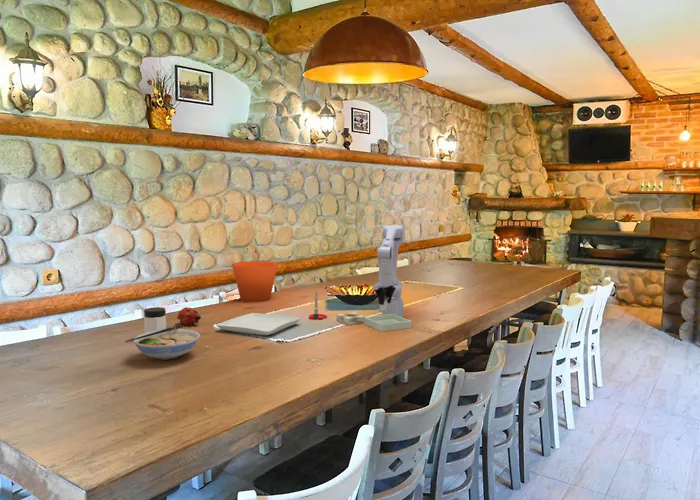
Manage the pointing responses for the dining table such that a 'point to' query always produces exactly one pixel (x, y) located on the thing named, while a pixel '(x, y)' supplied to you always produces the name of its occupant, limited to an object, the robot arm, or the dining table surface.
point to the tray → (387, 322)
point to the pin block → (350, 318)
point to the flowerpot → (255, 279)
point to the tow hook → (316, 315)
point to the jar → (154, 319)
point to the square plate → (258, 323)
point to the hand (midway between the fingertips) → (384, 303)
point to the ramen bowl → (166, 342)
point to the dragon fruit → (188, 316)
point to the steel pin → (383, 307)
